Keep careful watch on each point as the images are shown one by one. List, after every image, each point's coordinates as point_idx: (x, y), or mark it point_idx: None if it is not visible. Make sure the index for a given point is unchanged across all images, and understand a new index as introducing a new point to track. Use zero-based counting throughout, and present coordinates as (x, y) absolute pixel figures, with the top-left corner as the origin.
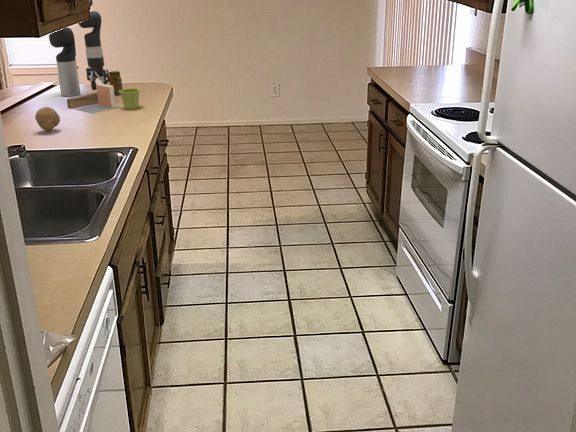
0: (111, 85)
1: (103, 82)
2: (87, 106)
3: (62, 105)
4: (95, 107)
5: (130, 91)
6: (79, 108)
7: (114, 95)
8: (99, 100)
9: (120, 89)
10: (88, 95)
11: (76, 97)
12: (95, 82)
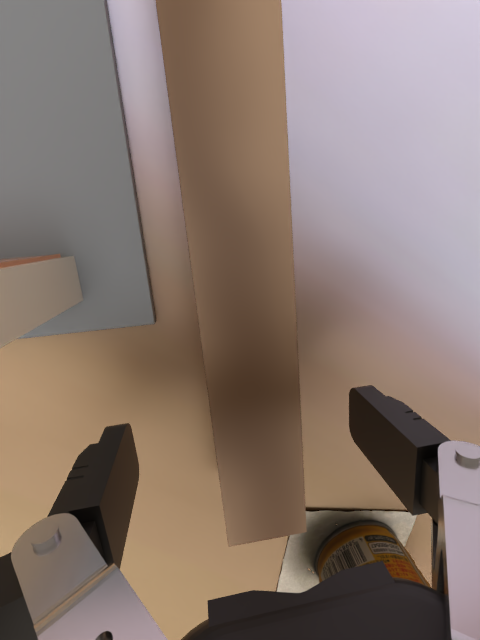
0: None
1: (17, 547)
2: (125, 145)
3: (446, 38)
4: (4, 174)
5: None
6: (94, 9)
7: (342, 536)
8: (14, 259)
9: None
10: (230, 234)
11: (245, 21)
12: (407, 503)
